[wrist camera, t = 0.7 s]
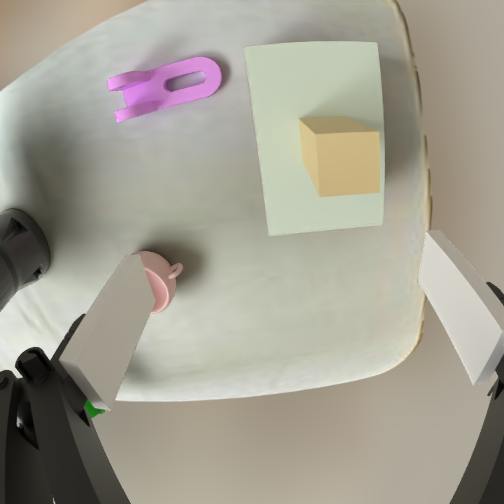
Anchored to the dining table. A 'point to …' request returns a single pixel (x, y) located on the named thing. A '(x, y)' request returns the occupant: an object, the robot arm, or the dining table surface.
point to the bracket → (163, 86)
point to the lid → (318, 133)
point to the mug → (160, 278)
